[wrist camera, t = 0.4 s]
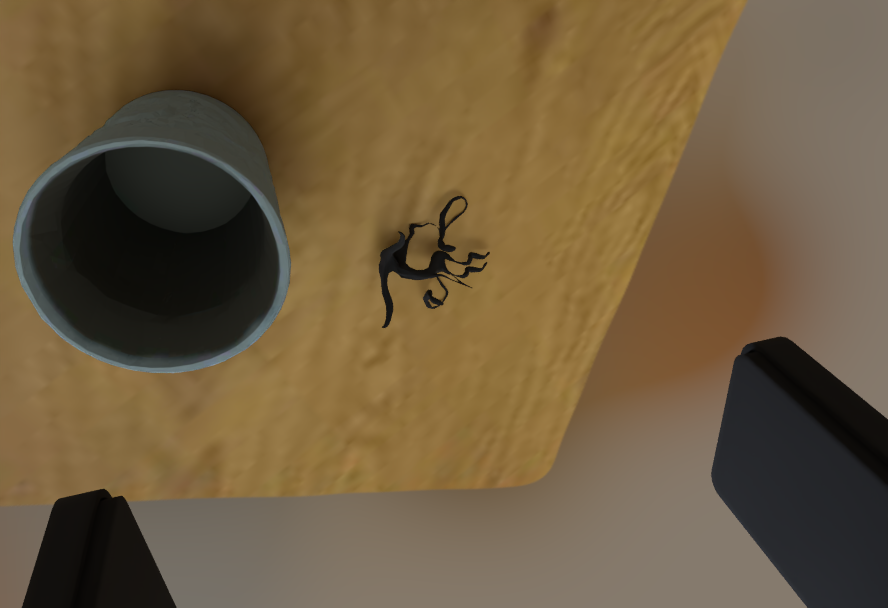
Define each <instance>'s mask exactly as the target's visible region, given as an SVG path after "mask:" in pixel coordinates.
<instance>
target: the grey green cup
mask: <svg viewBox="0 0 888 608" xmlns="http://www.w3.org/2000/svg"><path fill="white" fill-rule="evenodd" d="M13 250H14V258H15V267H16V270H17V273H18V276H19V279H20V282H21V285H22V287H23V289H24V290H25V292H26V294H27V295H28V297H29V299H30V300H31V302H32V303H33V305H34V307H35V308H36V310H37V312H38V313H39V315H40V317H41V318H42V319H43V320H44V321H45V322H46V323H47V324H48V325H49V326H50V327H51V328H52V329H53V330H54V331H55V332H56V333H57V334H58V335H59V336H60V337H61V338H63V339H64V340H65V341H67V342H68V343H70V344H71V345H73V346H74V347H76V348H77V349H78V350H80V351H82V352H84V353H86V354H88V355H90V356H92V357H94V358H96V359H98V360H100V361H103V362H106V363H109V364H111V365H114V366H118V367H122V368H126V369H131V370H135V371H143V372H151V373H176V372H185V371H192V370H197V369H201V368H205V367H208V366H212V365H215V364H218V363H221V362H223V361H226V360H227V359H229V358H231V357H233V356H235V355H236V354H238V353H240V352H242V351H243V350H245V349H247V348H248V347H249V346H251V345H252V344H253V343H254V342H255V341H257V340H258V339H259V338H260V337H261V336H262V335H263V333H264V332H265V331H266V330H267V329H268V328H269V327H270V326H271V324H272V323H273V321H274V320H275V318H276V316H277V315H278V313H279V311H280V310H281V307H282V305H283V303H284V300H285V298H286V294H287V290H288V287H289V283H290V268H291V260H290V251H289V246H288V242H287V238H286V234H285V229H284V225H283V221H282V218H281V216H280V211H279V206H278V201H277V196H276V193H275V188H274V186H273V183H272V176H271V173H270V170H269V165H268V161H267V157H266V154H265V151H264V148H263V146H262V144H261V142H260V140H259V138H258V136H257V134H256V133H255V131H254V130H253V129H252V127H251V126H250V125H249V123H248V122H247V121H246V120H245V119H244V118H243V117H242V116H241V115H240V114H239V113H237V112H236V111H235V110H234V109H232V108H231V107H229V106H228V105H226V104H224V103H223V102H221V101H219V100H217V99H214V98H212V97H210V96H207V95H204V94H200V93H196V92H192V91H184V90H166V91H160V92H154V93H150V94H147V95H144V96H142V97H139V98H137V99H135V100H133V101H131V102H130V103H128V104H126V105H125V106H123V107H122V108H121V109H120V110H119V111H118V112H116V113H115V114H114V115H113V116H112V117H111V118H110V119H108V120H107V121H106V123H105V125H104V126H103V127H102V128H99V129H97V130H96V131H94V132H93V134H92V135H90V136H88V137H86V138H85V139H84V140H83V141H82V142H81V143H79V144H78V146H77V147H75V148H74V149H72V150H71V151H70V152H69V153H67V154H66V155H65V156H63V157H62V158H61V159H59V160H58V161H56V162H55V163H53V164H52V165H51V166H50V167H49V168H48V169H47V170H46V171H45V172H44V173H43V174H42V175H41V176H40V177H39V178H38V179H37V180H36V181H35V182H34V184H33V185H32V186H31V188H30V189H29V190H28V192H27V194H26V196H25V198H24V200H23V202H22V204H21V206H20V208H19V212H18V216H17V219H16V223H15V227H14V235H13Z"/></svg>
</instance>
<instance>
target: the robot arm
mask: <svg viewBox="0 0 888 608" xmlns="http://www.w3.org/2000/svg"><path fill="white" fill-rule="evenodd" d="M711 477H712V482H713V485H714V487H715V490H716V492H717V493H718V495H719V496H720V497H721V499H722V500H723V501H724V503H725V504H726V505H727V506H728V508H729V509H730V510H731V511H732V513H733V514H734V515H735V516H736V518H737V519H738V520H739V522H740V523H741V524H742V525H743V527H744V528H745V529H746V530H747V532H748V533H749V534H750V535H751V537H752V538H753V539H754V540H755V542H756V543H757V544H758V545H759V547H760V548H761V549H762V551H763V552H764V553H765V554H766V556H767V557H768V558H769V559H770V561H771V562H772V563H773V564H774V566H775V567H776V568H777V570H778V571H779V572H780V573H781V575H782V576H783V577H784V578H785V580H786V581H787V582H788V584H789V585H790V586H791V587H792V589H793V590H794V591H795V592H796V594H797V595H798V596H799V597H800V599H801V600H802V601H803V602H804V604H805V605H806V606H807V608H888V419H887V418H885V417H884V416H883V415H882V414H881V413H879V412H878V411H877V410H876V409H874V408H873V407H872V406H870V405H869V404H868V403H867V402H866V401H865V400H863V399H862V398H861V397H860V396H858V395H857V394H856V393H855V392H854V391H852V390H851V389H850V388H849V387H847V386H846V385H845V384H844V383H842V382H841V381H840V380H839V379H838V378H836V377H835V376H834V375H833V374H832V373H830V372H829V371H828V370H827V369H825V368H824V367H823V366H822V365H821V364H819V363H818V362H817V361H815V360H814V359H813V358H812V357H811V356H810V355H808V354H807V353H806V352H805V351H803V350H802V349H801V348H800V347H799V346H797V345H796V344H795V343H794V342H792V341H791V340H789V339H788V338H786V337H776V338H772V339H767V340H763V341H758V342H754V343H750V344H747V345H746V346H745V347H744V348H743V350H742V352H741V355H738V356H737V357H736V359H735V361H734V365H733V370H732V374H731V379H730V384H729V389H728V394H727V399H726V404H725V408H724V414H723V418H722V423H721V428H720V433H719V437H718V443H717V447H716V452H715V457H714V462H713V467H712V473H711ZM22 608H176V605H175V603H174V601H173V599H172V597H171V595H170V593H169V591H168V589H167V586H166V584H165V582H164V580H163V578H162V576H161V574H160V571H159V569H158V567H157V565H156V563H155V561H154V559H153V556H152V554H151V552H150V550H149V548H148V546H147V544H146V542H145V539H144V537H143V535H142V533H141V531H140V529H139V527H138V525H137V522H136V520H135V518H134V516H133V514H132V512H131V510H130V508H129V505H128V503H127V501H126V500H125V498H124V497H123V496H118V497H113V498H112V497H111V495H110V494H109V492H108V491H107V490H105V489H100V490H95V491H91V492H86V493H82V494H78V495H73V496H69V497H64V498H60V499H58V500H57V501H56V502H55V504H54V506H53V508H52V511H51V515H50V518H49V521H48V524H47V528H46V531H45V534H44V537H43V541H42V544H41V547H40V550H39V554H38V557H37V560H36V563H35V567H34V570H33V573H32V576H31V580H30V583H29V586H28V589H27V593H26V596H25V599H24V602H23V606H22Z"/></svg>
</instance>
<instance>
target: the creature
mask: <svg viewBox="0 0 888 608" xmlns="http://www.w3.org/2000/svg"><path fill="white" fill-rule="evenodd" d="M460 198H462V199H464V200H465V202H466V208H467V205H468V203H467V201H466V199H465V198H464V197H462V196H457V197H454V198H452V199H451V200H450V201H449V202H448V204H447V205H446V206H445V208H444V209H443V211H442V212H441V213H440V219H439V226H440V228H438V227H437V228H438V229H439V234H440V237H439V239H438V247H439V249H441V250H443V251H436V252H434V253H433V255H432V257H431V261H430V264H429V268H427V269H425V270H415V269H413V268H410V267H409V266H408V265H407V264H406V254H407V248H408V244H409V241H410V239H411V238H412V236H413V235H414V228H416V227H423V226H425V225H427V224H432V223H426V224H424V225H417V224H411V225H410V227H409V231H410V234H409V236H408V238H407V239H406V240H405V236H404V234H403V233H402V232H399V231H398V233H400V240H399V241H398V242H397V243H395V244H394V245H392V246H390V247H388V248H386V249H384V250H382V252H381V254H380V256H381V261H380V263H379V273H380V277H381V287H382V295H383V297H384V301H385V304H386V321H385V324H384V326H383V327H382V328H386V327H388V325H389V323H390V321H391V317H392V313H393V302H392V298H391V296H390V293H389V290H388V286H387V278H388V274H389V273H390V272H392V271H394V272H396V273H397V274H399V275H400V277H401V278H406V279H412V280H423V279H428V278H434V277H437V279H438V281H439V283H440V285H441V286H442V287H443V288H444V289H445V291H446V296H445V298H444V300H445V299H446V297H447V295H448V291H447V289H446V288H445V286H444V285H443V284H442V282H441V281H440V280H439V278H438V276H443V277H446V276H445V275H442V274H437V273H438V272H445V273H447V274H451V275H452V276H453V275H454V274H452V273H451V272H449V271H448V269H447V268H446V265H445V259H447V260H449V261H453V262H456V263H459V264H462V265H470V263H471V261H472V258H475V259H485V257H487V256H488V255H489V254H490V252H488V253H487V254H486V256H484V255H480V254H477V253H473V252H470V253H469V254H468V260H467V262H457V261H455V260H454V259H453V258H451V257H450V255H449V254H447V253H446V252H452V251H454V250H455V249H456V248H455V247H454V246H451V245H445V244H444V242H443V238H444V236H445V230H446V229H447V228H448V226H449V225H450V224H451V223H452V222H453V221H455V220H456V219H457V218H458V217H459V216H460V215H461V214H463V213H464V212H465V210H466V208H465V210H464V211H463V212H462V213H461V214H459V215H458V216H456V217H455V218H454V219H453V220H452V221H451V222H450V223H449V224H448V225H447V226H446V227H445V216H446V213H447V212H448V210H449V208H450V206H451V204H452V203H453V201H455V200H458V199H460ZM432 225H434V224H432ZM435 226H436V225H435ZM444 251H446V252H444ZM486 265H487V262H486V263H485V264H484V265H483V267H482V268H476V267H470V266H469V267H466V268H465V272H464V274H463V275H454V276H457V277H460V278H465V277H467V276H468V275H469V272H481V271H482V270H483V269H484V267H485V266H486ZM446 278H448V277H446ZM455 278H456V277H455ZM448 279H450V278H448ZM456 279H457V278H456ZM450 280H452V279H450ZM457 280H458V279H457ZM452 281H454V280H452ZM455 282H457V281H455ZM457 283H460V284H462V285H465V286H468V285H466V284H464V283H462V282H461V281H459V280H458V282H457ZM468 287H470V286H468ZM470 288H472V287H470ZM429 299H430V301H431V302H432V303H434V304H437V305H438V306H440V305H443V302H444V300H443V301H442V302H441V301H440V300H438V299H436V298H434V297H432V291H431V290H428V291H427V292H426V293H425V295H424V297H423V300H424V302H425V304H426V306H427V307H428V308H431V309H435V308H437V307H438V306H435V307H432V306H431V305H430V303H429V301H428V300H429Z"/></svg>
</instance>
